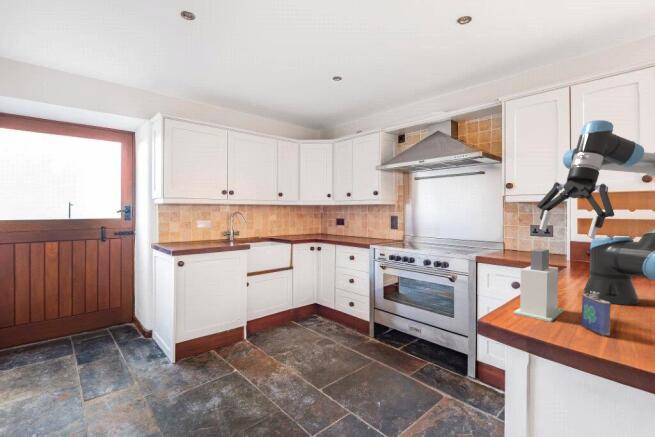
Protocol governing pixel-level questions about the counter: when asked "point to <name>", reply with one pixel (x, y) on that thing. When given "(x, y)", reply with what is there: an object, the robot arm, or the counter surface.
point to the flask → (595, 314)
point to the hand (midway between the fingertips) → (565, 233)
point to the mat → (549, 318)
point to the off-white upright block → (539, 285)
